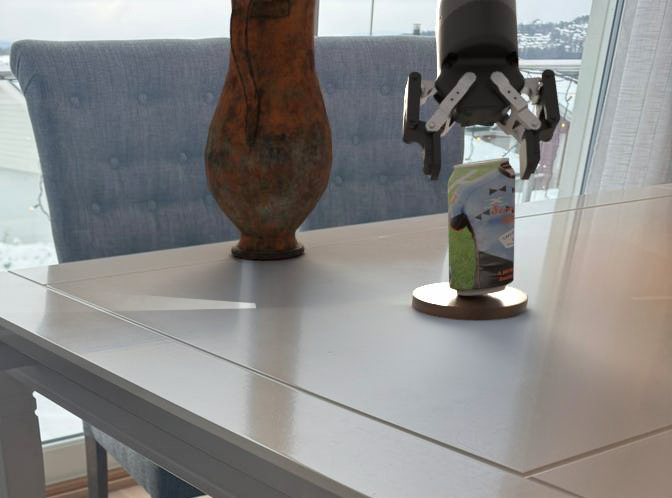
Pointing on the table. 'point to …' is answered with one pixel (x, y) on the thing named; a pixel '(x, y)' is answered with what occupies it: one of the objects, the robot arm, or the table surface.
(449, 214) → the beverage can
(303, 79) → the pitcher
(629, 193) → the table surface
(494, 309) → the walnut puck
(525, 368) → the table surface
